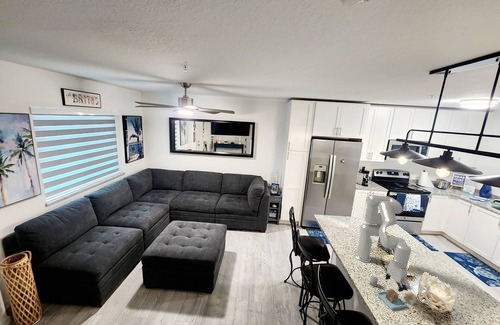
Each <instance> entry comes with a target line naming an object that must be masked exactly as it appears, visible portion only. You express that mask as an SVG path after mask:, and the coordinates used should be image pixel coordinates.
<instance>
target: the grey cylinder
mask: <svg viewBox="0 0 500 325" xmlns="http://www.w3.org/2000/svg"><path fill="white" fill-rule="evenodd" d="M378 281H379V279H378V278H377V277H376V276H374V275H372V276H370V279H369V285H370V286H372V288H376V287H377V286H378V283H379V282H378Z"/></svg>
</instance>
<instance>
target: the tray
mask: <svg viewBox="0 0 500 325" xmlns="http://www.w3.org/2000/svg"><path fill="white" fill-rule="evenodd" d="M375 293H376V294H375V295H376V296H377V297H378V298H379V299H380V300H381V301H382V302H383V303H384V304H385V305H386V307H388V308H389V309H390V310H391V311H393V310H400V309H406V308H407V307H408V304H407V303H406V301H403V299H401V298H400V297H399V296H398V300H397V302H396V303H390V302H389V301H388V300H387V299H386V298H385V297H386V293H387V290H383V291H376V292H375Z"/></svg>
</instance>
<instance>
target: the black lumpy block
mask: <svg viewBox="0 0 500 325" xmlns="http://www.w3.org/2000/svg"><path fill="white" fill-rule="evenodd" d="M395 281H396V280H395ZM396 284H397V287H398V288H399V286H400V283H398V282H397V281H396ZM405 284H406V283H405ZM402 285H403V283H402ZM403 291H406V292H407V291H409V289H408V287H404V290H403Z"/></svg>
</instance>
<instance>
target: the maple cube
mask: <svg viewBox="0 0 500 325" xmlns="http://www.w3.org/2000/svg"><path fill="white" fill-rule="evenodd" d="M417 299H418V295H417V294H415V293H414V292H412V291H410V290H408V291H406V292H405V293H404V296H403V300H404V302H407V303H408V304H409V305H414V304H416V303H417Z"/></svg>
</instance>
